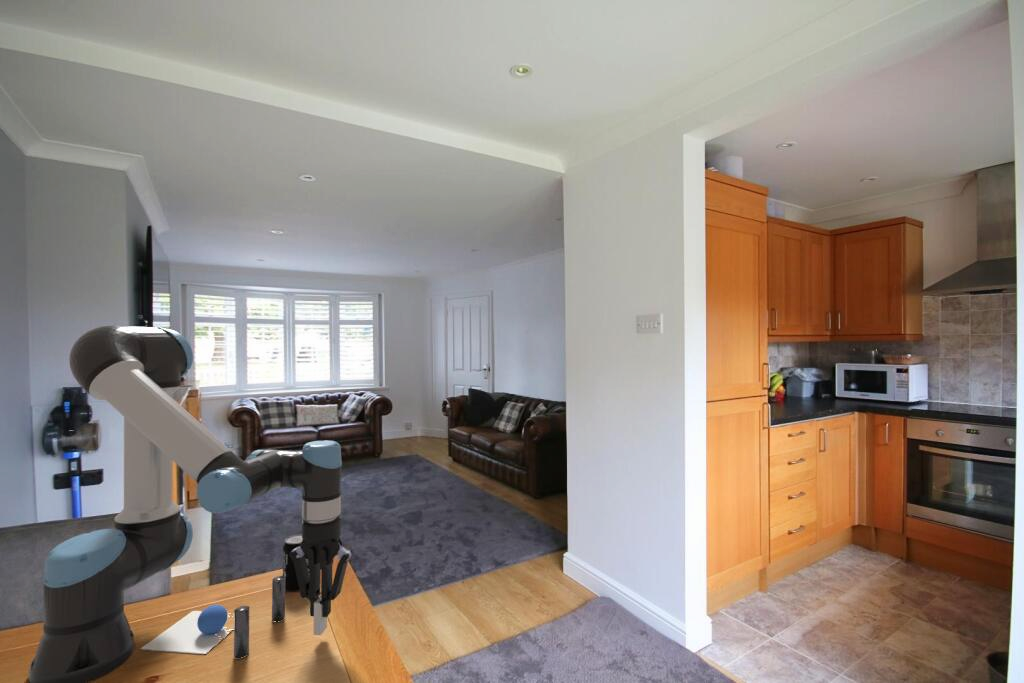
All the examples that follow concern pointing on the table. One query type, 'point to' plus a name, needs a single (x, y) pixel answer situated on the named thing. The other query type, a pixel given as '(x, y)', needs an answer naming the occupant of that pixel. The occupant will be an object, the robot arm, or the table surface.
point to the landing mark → (186, 637)
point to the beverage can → (291, 562)
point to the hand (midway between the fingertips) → (320, 631)
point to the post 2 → (278, 598)
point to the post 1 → (241, 631)
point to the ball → (212, 619)
